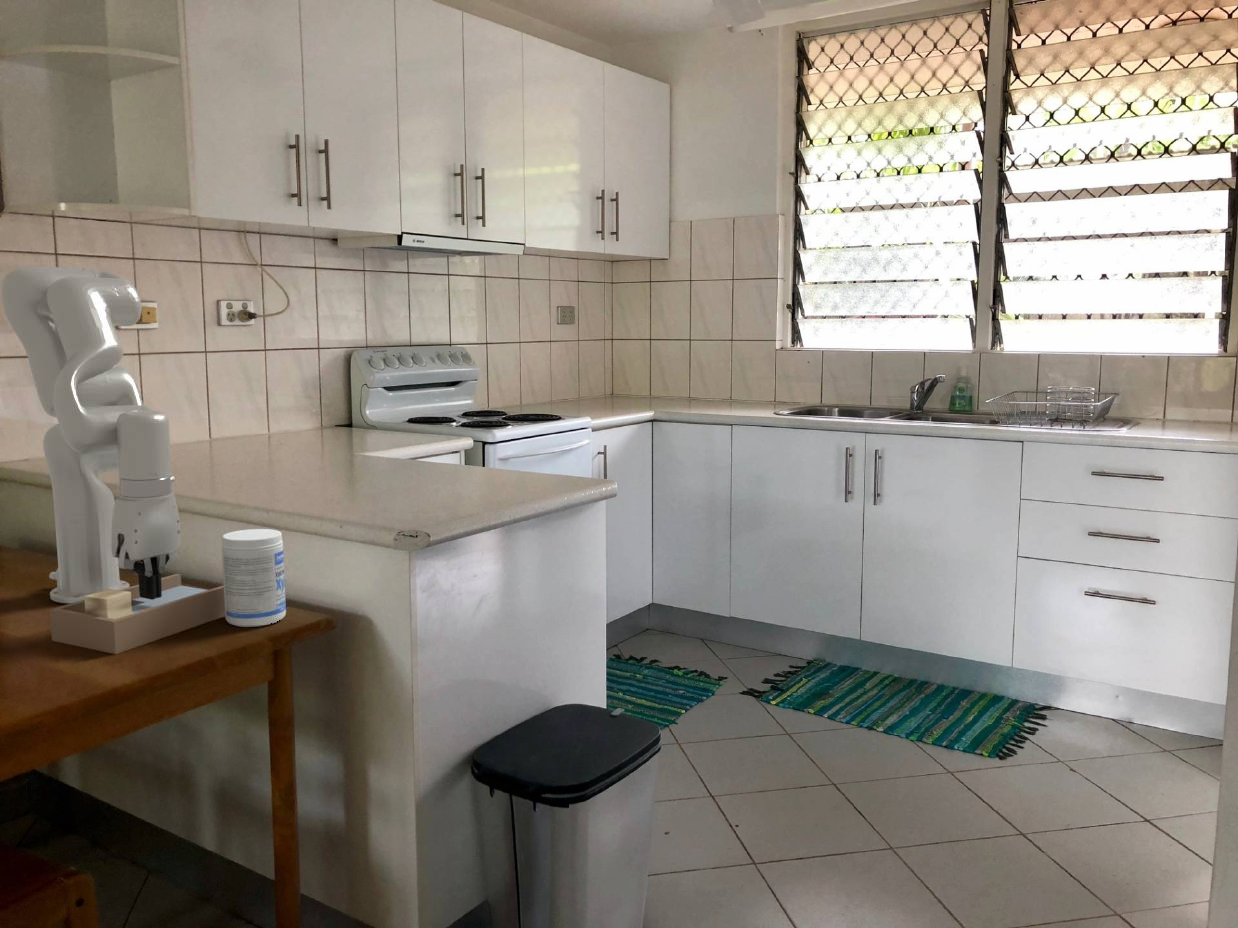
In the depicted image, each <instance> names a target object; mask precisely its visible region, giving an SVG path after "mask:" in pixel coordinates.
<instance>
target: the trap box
mask: <svg viewBox="0 0 1238 928" xmlns="http://www.w3.org/2000/svg"><path fill="white" fill-rule="evenodd" d="M161 586H162V597H160V598H156V599H153V600H151V599H146V598H142V597H140V592H139V584H135V585H132V586H129V587H128V588H124V589H121V591H128V592H131V603H132V614H130V615H127V616H124V617H121V618H117V619H111V618H106V617H101V616H96V615H91V614H86V613H85V600H82V601H78V602H75V603H67V604H64V605H60V606H57V607H54V608H50V609H49V619H50V620H49V621H50V632H51V641H52V642H55V643H56V642H57V643H62V644H66V645H71V646H75V647H76V646H77V647H79V648H80V647H81V648H85V649H89V650H94V651H97V652H98V651H99V652H104V653H108V654H113V655H118V654H121V653H123V652H126V651H130V650H132V649H135V648H138V647H140V646H143V645H147V644H149V643H152V642H155V641H157V640H160V639H164V638H167V637H169V636H172V635H175V634H178V633H181V632H183V631H187V630H190V629H192V628H195V627H198V626H201V625H204V624H206V623H210V622H212V621H216V620H217V619H221V618H224V617H226V616H225V597H224V584H223V585H220V586H217V587H214V588H211V589H204V588H200V587H199V588H198V587H191V586H185V585H182V575H181V574H180V573H179V574H178V573H174V574H171V575H168V576H167V575H166V576H164V577H161Z"/></svg>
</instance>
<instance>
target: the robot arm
mask: <svg viewBox="0 0 1238 928" xmlns="http://www.w3.org/2000/svg"><path fill="white" fill-rule="evenodd" d="M0 293H1V302H2V305H3V306H2V307H3V310H4V314H5V316H6V318H7V321H8V323H9V325H10V327H11V328H12V330H13V332H14V334H15V335H16V337H17V338H18V340H19V341H20V343H21V344H22V346H23V349H24V351H25V353H26V356H27V359H28V363H29V368H30V371H31V375H32V378H33V381H34V385H35V389H36V392H37V396H38V399H39V402H40V404H41V406H42V408H43V410H44V411H45V413H47V415H49V416H50V417H52V418H56V419H57V422H58V423H57V424H55V425H52V426H51V427H50V428H49V429H47V431H46V432H45V433H44V437H43V442H42V443H43V444H42V446H43V452H44V457H45V460H46V464H47V467H48V472H49V477H50V481H51V488H52V496H53V497H52V499H53V512H54V523H55V524H54V525H55V536H56V537H55V538H56V552H57V555H56V556H57V564H58V565H57V569H56V570H55V571H52V572H50V574H49V575H48V576H49V577H48V578H49V579H50V580H54V581H56V586H57V587H55V588H53V589H52V590H50V592H49V596H50V599H51V601H53V602H55V603H61V604H71V603H75V602H78V601H82V600H85V598H84V596H87V595H90V594H93V593H97V592H100V591H103V590H107V589H114V590H121V589H124V588H128V587H130V583H129V582H127V581H125V580H121V579H120V569H121V570H122V569H123V570H132V571H133V572H134V575H136V576H137V575H138V585H139V592H140V597H142V598H146V599H151V600H153V599H156V598H160V597H162V586H161V578H162V574H163V573H164V572H165V569H166V565H167V564H168V562H169V560H171V559H174V557H178V555H179V548H180V547H181V543H182V534H181V533H182V531H181V522H180V521H181V519H180V512H179V508H178V504H177V498H176V496H175V493H174V492H173V491H172V488H173V487H172V486H173V485H174V484H175V482H176V479H175V477H174V476H173V475H172V468H171V467H172V465H171V464H172V462H171V440H170V439H171V438H170V437H171V436H170V420H169V418H168V416H167V414H165V413H164V412H163V411H158V410H154V409H152V408H151V407H149V406H146V405H144V402H143V400H142V396H141V393H140V390H139V387H138V383H137V382H136V379H135V377H134V376H133V374H132V373H131V372H130V371H129V370H128V369H126V368H125V367H123V366H120V365H118V364H119V363H120V362H121V360H122V359H123V357H124V350H123V349H124V348H123V345H122V344H121V340H120V339H119V335H118V333H117V331H116V328H115V327H132V326H133V325H136V324H137V323H138V321H140V318H141V316H142V309H143V308H142V300H141V297H140V295H139V292H138V291H137V289H136V287H135V286H134V284H132V283H131V282H130V280H128V279H127V278H124V277H122V276H119V275H117V274H113V273H112V272H109V271H107V270H104V269H103V270H102V269H96V268H78V267H77V268H76V267H64V266H63V267H61V266H60V267H59V266H42V265H41V266H39V265H38V266H37V265H36V266H34V265H33V266H23V267H18V268H15V269H14V268H13V269H11V270H10V271H8V272H7V273H6V274H5V275H4V276H3V279H2V282H1V287H0ZM117 471H118V477H119V478H118V479H119V497H117V498H115V496H114V494H113V492H112V491H111V489H110V487H108V486H107V485H106V483H105V482H104V481H102V480H101V478H100V477H99V476H98V475H99V474H101V473H106V472H117Z"/></svg>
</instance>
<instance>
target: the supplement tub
mask: <svg viewBox="0 0 1238 928" xmlns="http://www.w3.org/2000/svg"><path fill="white" fill-rule="evenodd" d="M221 538H222V539H221V540H222V544H221V553H222V554H221V557H222V558H221V559H222V573H223V575H222V576H223V585H224V597H225V616H224V617H225V620H226V622H227V623H228V624H230V625H232V626H236V627H242V628H250V627H251V628H252V627H263V626H267V625H271V623H272V624H274V623H277V621H278V622H279V620H280V621H281V620H282V619H284V617H285V616H286V614H287V608H286V607H287V606H286V588H285V587H286V585H285V580H286V579H285V563H284V562H285V560H284V558H285V557H284V543H283V534H282V532H281V531H279V530H277V529H269V528H253V529H252V528H250V529H241V530H236V531H230V532H227V533H225V534H223V535H222V537H221Z"/></svg>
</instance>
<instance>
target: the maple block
mask: <svg viewBox="0 0 1238 928" xmlns="http://www.w3.org/2000/svg"><path fill="white" fill-rule="evenodd" d="M84 598H85V613H86V614H91V615H96V616H101V617H106V618H111V619H117V618H121V617H124V616H127V615H130V614H132V603H131V592H128V591H121V590H114V589H107V590H103V591H100V592H97V593H93V594H90V595H87V596H84Z"/></svg>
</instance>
